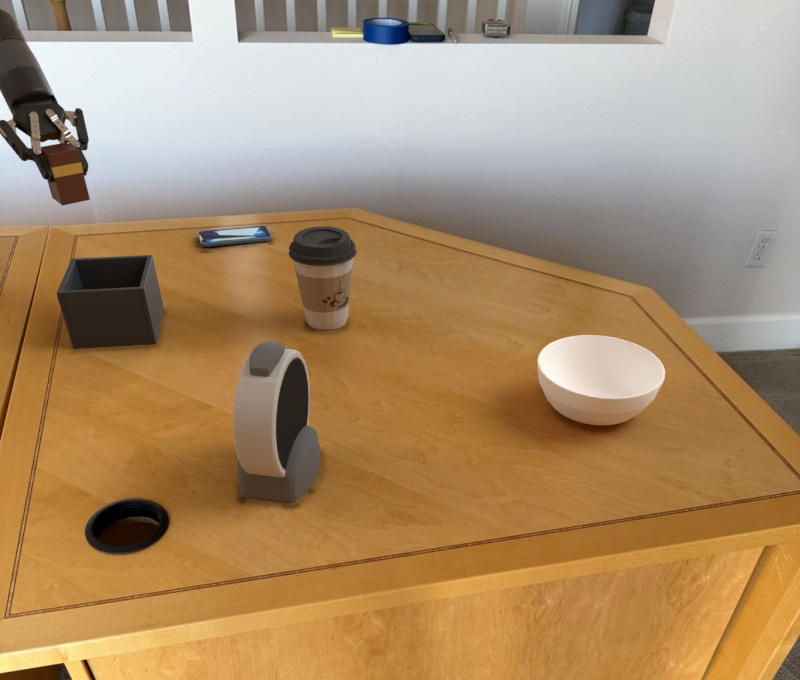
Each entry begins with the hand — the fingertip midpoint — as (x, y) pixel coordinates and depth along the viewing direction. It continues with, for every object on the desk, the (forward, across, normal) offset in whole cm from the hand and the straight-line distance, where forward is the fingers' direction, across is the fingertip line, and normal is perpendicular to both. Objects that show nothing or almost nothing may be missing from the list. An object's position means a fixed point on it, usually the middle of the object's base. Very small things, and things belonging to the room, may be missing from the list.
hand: (68, 175), depth 127 cm
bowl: (+72, +45, -40) cm, 94 cm away
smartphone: (+7, +34, +24) cm, 42 cm away
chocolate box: (+2, 0, +4) cm, 5 cm away
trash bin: (+24, -1, +7) cm, 25 cm away
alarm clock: (+61, -1, -30) cm, 68 cm away
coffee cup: (+38, +29, -7) cm, 48 cm away
